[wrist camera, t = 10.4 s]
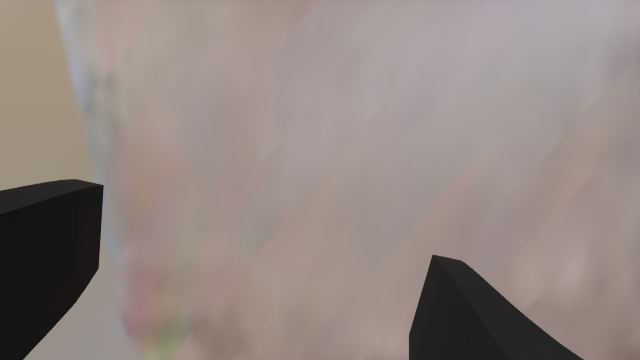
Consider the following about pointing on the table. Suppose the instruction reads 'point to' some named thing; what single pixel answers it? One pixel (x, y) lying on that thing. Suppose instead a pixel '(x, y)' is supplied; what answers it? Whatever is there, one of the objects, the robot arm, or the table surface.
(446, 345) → the robot arm
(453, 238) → the table surface
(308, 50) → the table surface
